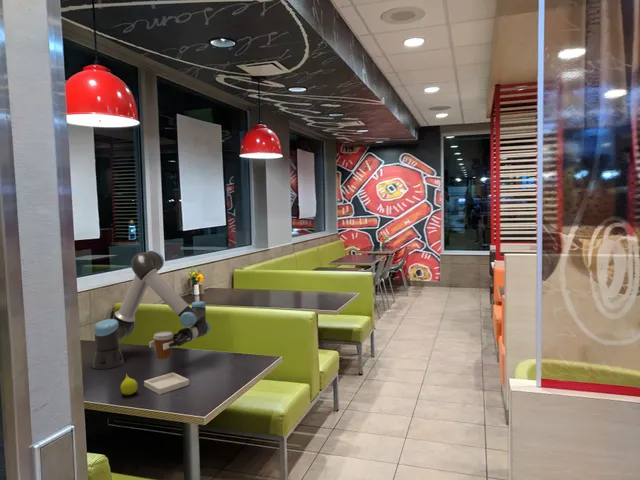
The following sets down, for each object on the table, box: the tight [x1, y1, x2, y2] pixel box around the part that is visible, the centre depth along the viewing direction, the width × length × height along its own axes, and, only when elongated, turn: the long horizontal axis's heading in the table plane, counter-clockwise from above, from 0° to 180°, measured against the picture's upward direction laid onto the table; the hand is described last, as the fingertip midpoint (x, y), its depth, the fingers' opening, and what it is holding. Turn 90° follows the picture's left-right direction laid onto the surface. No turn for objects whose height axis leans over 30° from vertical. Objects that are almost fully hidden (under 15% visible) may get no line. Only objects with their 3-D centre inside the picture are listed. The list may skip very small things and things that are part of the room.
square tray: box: [143, 372, 190, 396], centre depth 219 cm, size 15×15×2 cm
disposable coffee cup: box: [152, 330, 173, 360], centre depth 233 cm, size 10×10×12 cm
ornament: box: [120, 373, 138, 396], centre depth 209 cm, size 7×7×10 cm
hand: (156, 346), depth 229 cm, fingers closed on disposable coffee cup, 8 cm apart
